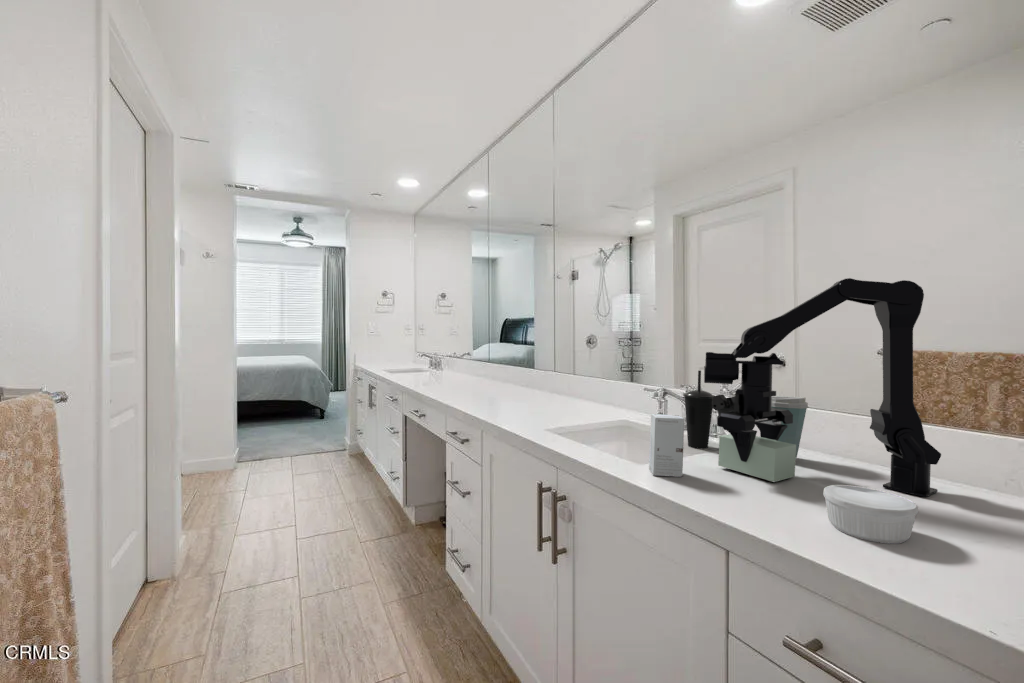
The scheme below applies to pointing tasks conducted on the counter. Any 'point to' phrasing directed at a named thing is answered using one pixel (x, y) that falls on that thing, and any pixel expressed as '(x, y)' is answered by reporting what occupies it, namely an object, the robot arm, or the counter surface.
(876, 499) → the ramekin
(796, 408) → the disposable coffee cup
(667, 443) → the skincare box
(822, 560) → the counter surface
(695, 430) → the drinking cup
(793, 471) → the sage green rectangular block
